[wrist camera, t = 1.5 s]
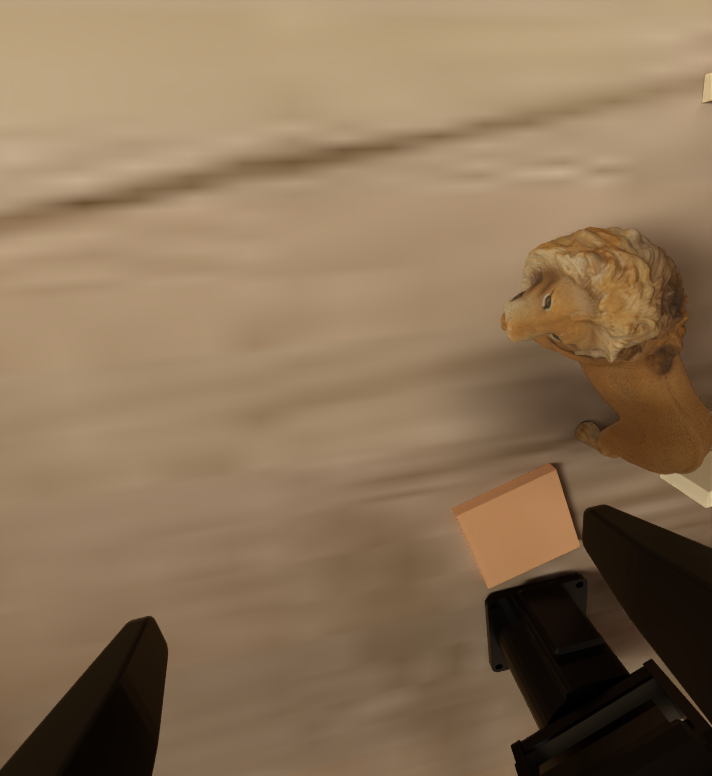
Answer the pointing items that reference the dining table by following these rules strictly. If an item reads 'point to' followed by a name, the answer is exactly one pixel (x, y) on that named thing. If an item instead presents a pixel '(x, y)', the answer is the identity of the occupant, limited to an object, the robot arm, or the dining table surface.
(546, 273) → the lion figurine
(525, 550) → the terracotta tile
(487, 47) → the dining table surface
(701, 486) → the frame
